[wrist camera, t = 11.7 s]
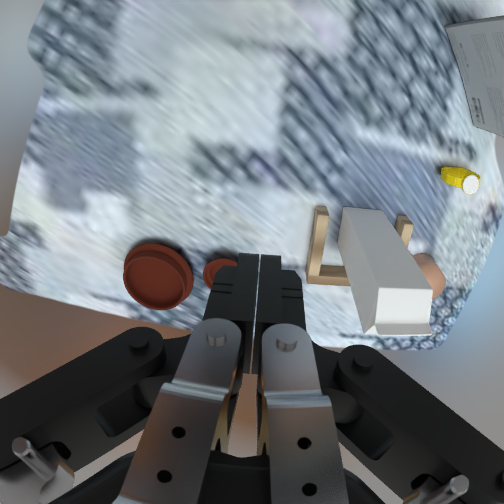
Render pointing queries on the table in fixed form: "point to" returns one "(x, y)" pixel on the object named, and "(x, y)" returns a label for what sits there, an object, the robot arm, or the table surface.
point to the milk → (383, 276)
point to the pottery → (163, 276)
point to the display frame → (314, 268)
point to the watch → (461, 178)
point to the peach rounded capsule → (431, 273)
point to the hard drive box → (481, 69)
